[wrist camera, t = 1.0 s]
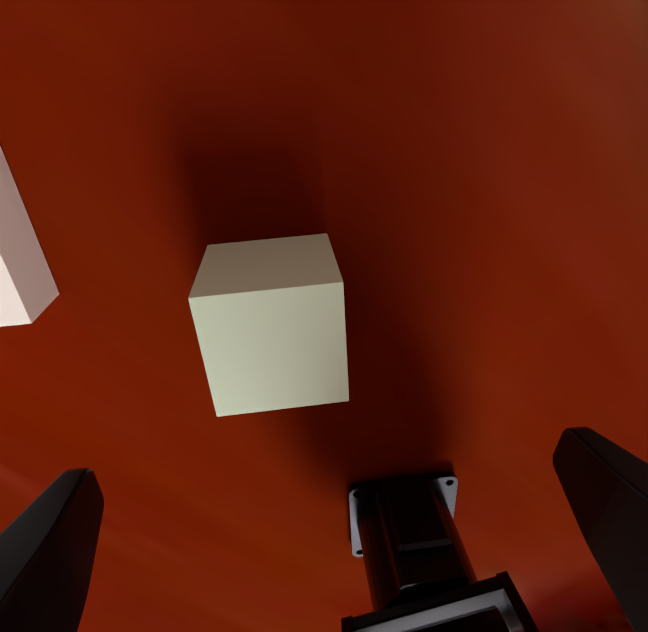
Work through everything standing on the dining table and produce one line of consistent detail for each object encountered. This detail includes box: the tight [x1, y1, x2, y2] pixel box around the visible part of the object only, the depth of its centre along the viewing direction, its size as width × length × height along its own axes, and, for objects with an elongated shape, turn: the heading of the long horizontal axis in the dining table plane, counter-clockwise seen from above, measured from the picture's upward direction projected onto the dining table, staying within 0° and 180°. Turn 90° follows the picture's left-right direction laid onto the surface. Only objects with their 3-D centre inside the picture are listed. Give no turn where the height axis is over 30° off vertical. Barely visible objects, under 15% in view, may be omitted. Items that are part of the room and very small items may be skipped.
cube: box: [188, 233, 349, 417], centre depth 18 cm, size 5×5×5 cm
